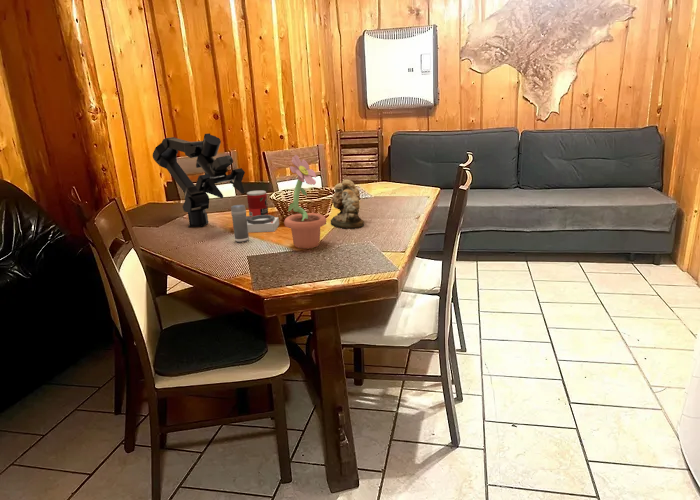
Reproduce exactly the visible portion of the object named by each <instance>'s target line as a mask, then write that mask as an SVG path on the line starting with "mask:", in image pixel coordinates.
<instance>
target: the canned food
mask: <svg viewBox="0 0 700 500" xmlns="http://www.w3.org/2000/svg"><path fill="white" fill-rule="evenodd" d="M246 199H247V206H248V216H250V217H253V216H257V215H269V206H268V195H267V191H266V190H263V189H262V190H250V191H247V192H246Z"/></svg>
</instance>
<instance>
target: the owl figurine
mask: <svg viewBox="0 0 700 500" xmlns="http://www.w3.org/2000/svg"><path fill="white" fill-rule="evenodd" d="M334 191H335V192H334V193H333V196H332V202H331V203H332V205H333V208H334V209H337V210H338V211H339V212H338V213H336V215H334V216H332V218H331V219H330V224H331V226H332V227H335V228H337V229H341V228H342V229H341V230H346V229H348V230H352V229H355V228H356V229H359V228H362V227H364V226H365V222H364V220H363V219H362V218H361V217H360V216H359V213H360V200H361V199H362V198H361V195H360V190H359V188H358V187H357V186H356V185H355V183H354V181H352V180H350V179H343V180H342V182H339V183H337V184H336V185H334Z"/></svg>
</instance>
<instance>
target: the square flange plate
mask: <svg viewBox="0 0 700 500" xmlns="http://www.w3.org/2000/svg"><path fill="white" fill-rule="evenodd" d="M246 218H247V227H248V233H267V232H268V233H269V232H275V231H277V229H278V227H279V226H280V220H279V216H278V217H276V216H274V215H272V214H268V215H257V216H253V217H250V216H249V215H246Z"/></svg>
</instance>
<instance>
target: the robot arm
mask: <svg viewBox="0 0 700 500" xmlns="http://www.w3.org/2000/svg"><path fill="white" fill-rule="evenodd" d="M221 142H222V140H221V138H219V137H218V136H216V135H212V134H211V133H204V135H203V140H199V141H189V140H184V139H181V138H177V137H175V136H174V137H172V136H171V137H165V138H163V139H162V141H161V143H159V144H158V145H157V146H155V148H154V150H153V152H152V158H153V161H155V163H156V164H157V165H158V166H159V167H161V168H163V169H166V170H167V172H168V173H169V174H170V176H171V177H172V178H173V180H174V181H175V183H176V184H177V185H178V186H179V187H180V189H181V191H182V192H183V193H184V202H183V205H182V210H183V212H184V213H187V217H188V223H189V225H187V227H188V228H196V227H198V228H199V227H200V228H201V227H205V226H207V224H209V217H208V216H209V215H208V213H207V211H206V210H208V209H209V206H210V196H209V195H213V196H215V197H218V198H220V199H223V198H224V195H223V193H222V192H221V191H220V189H219V188H218V187H217V185H216V184H220V183H225V182H229V183H230V184H231V185H232V187H233V188H235V190H237V191H239V192H240V193H241V194H244V193H245V188H244V186H243V179H244V176H245V174H246V172H245V171H244V169H243V168H242V167H241V168H240V167H239V168H234V169H232V170H231V172H230V173H229V174H227V172H228V171H229V169H228V167H230V166H232V164H234V159H233V157H232V156H231V155H229V154H228V155H224V156H218V157H216V156H217V155H218V153H219V150H220V146H221V144H222V143H221ZM179 152H182V153H184V154H185V156H186V157H188V158H190V159H195V158H196V161H195V162H196V163H195V168H197V169H199V168H201V169H202V171H203V172H204V174H200V175H198V177H197V180H196V183H193V181H192V180H191V179H190V178H189V176H188V174H187V173H186V172H185V171H184V169H183V168H182V167H181V165H180V164H179V163H178V153H179ZM214 157H216V158H214ZM208 194H209V195H208Z"/></svg>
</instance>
